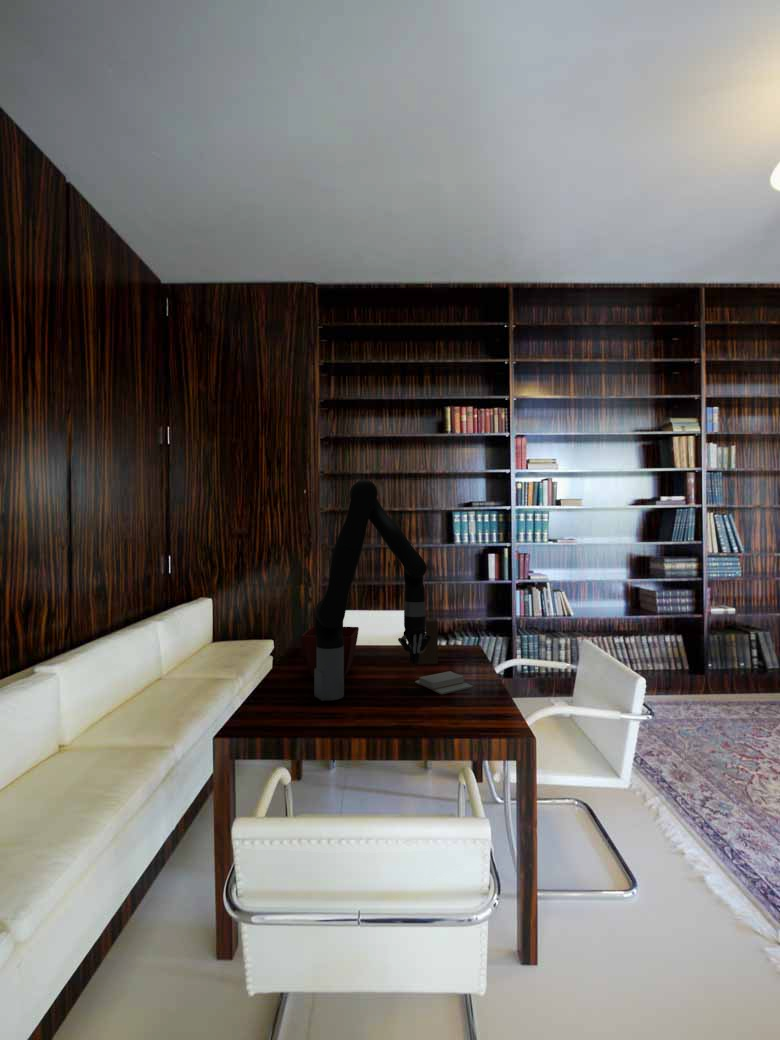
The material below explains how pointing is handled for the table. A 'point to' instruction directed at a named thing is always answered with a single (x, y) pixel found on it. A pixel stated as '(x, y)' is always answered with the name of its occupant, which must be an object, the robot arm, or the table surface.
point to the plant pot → (311, 648)
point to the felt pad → (450, 688)
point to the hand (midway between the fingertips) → (414, 663)
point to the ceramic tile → (441, 680)
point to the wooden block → (430, 644)
